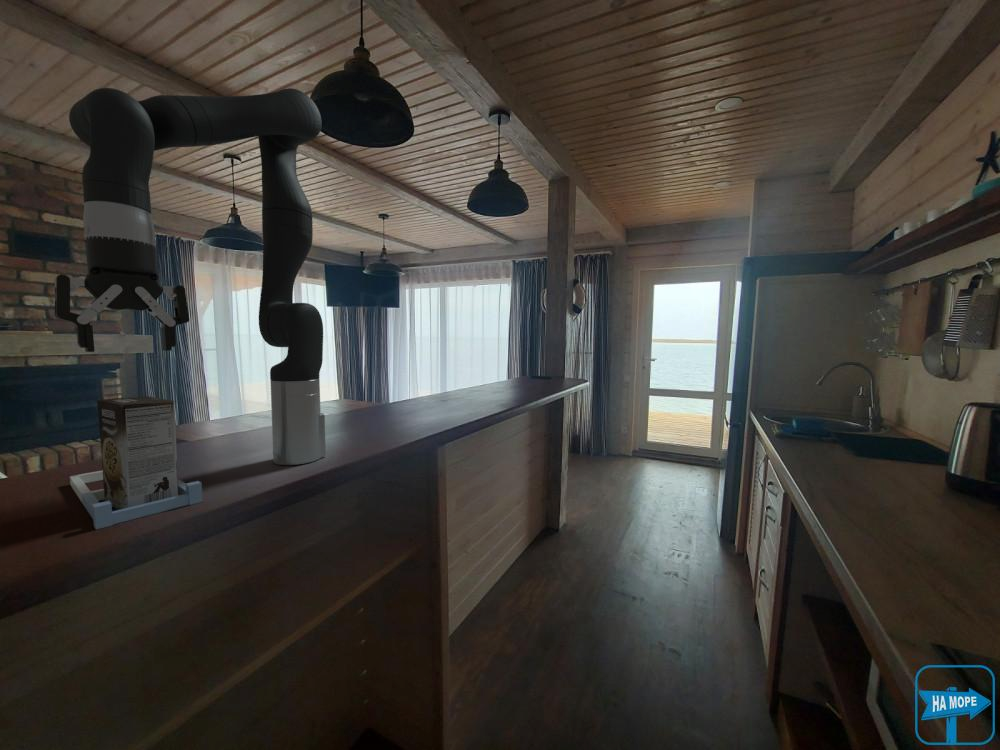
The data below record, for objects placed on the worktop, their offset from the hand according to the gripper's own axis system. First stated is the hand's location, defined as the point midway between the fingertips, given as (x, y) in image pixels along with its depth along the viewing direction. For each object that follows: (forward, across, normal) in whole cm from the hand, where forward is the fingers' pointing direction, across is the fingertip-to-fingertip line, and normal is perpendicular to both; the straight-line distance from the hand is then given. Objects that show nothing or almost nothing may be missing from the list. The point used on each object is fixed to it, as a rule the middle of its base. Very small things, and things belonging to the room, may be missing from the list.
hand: (130, 351), depth 58 cm
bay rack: (+24, 0, -6) cm, 24 cm away
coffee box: (+24, 0, 0) cm, 24 cm away
